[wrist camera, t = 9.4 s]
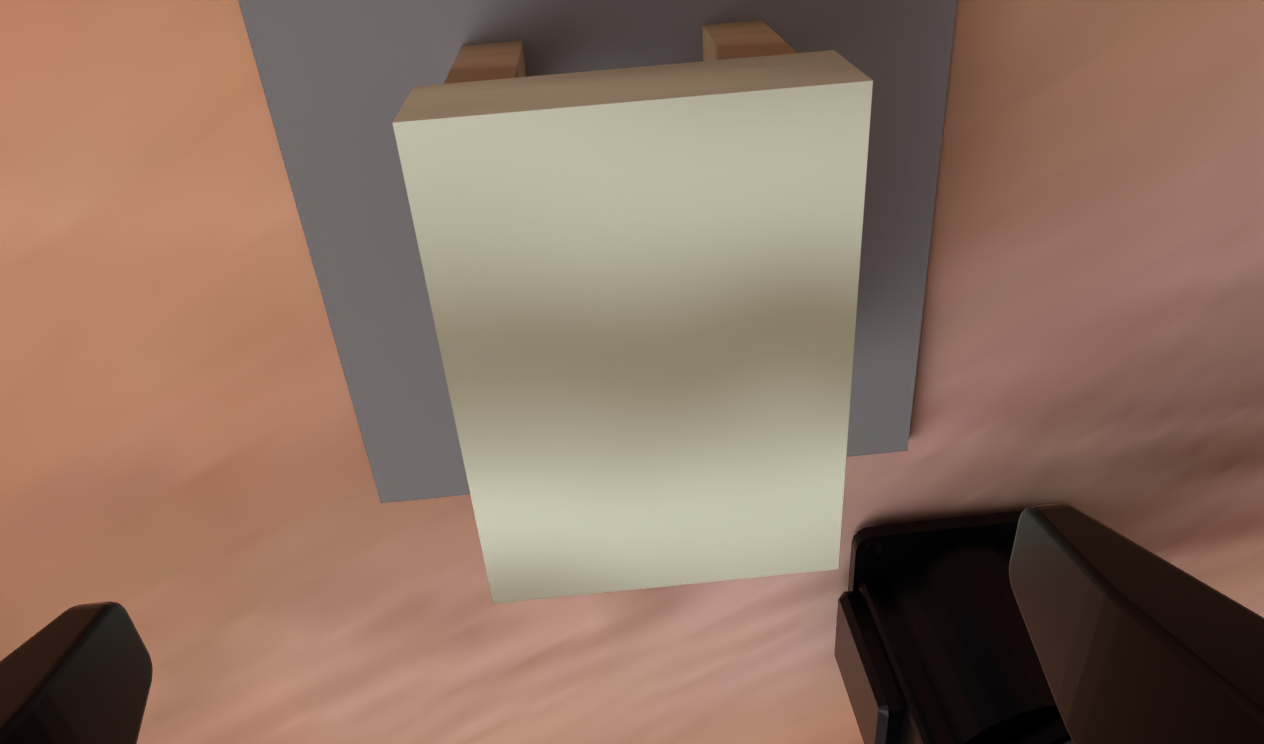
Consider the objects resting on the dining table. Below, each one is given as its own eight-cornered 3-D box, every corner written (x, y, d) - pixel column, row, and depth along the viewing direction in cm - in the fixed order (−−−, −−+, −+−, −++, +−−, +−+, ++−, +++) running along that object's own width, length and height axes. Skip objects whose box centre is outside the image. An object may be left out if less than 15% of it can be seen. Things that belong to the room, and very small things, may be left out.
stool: (769, 386, 22) (838, 569, 17) (510, 410, 22) (493, 603, 17) (774, 2, 18) (872, 81, 12) (446, 31, 17) (392, 122, 12)
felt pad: (966, -163, 17) (974, -162, 16) (902, 441, 24) (907, 450, 24) (218, -97, 16) (210, -97, 16) (383, 493, 24) (380, 503, 23)
